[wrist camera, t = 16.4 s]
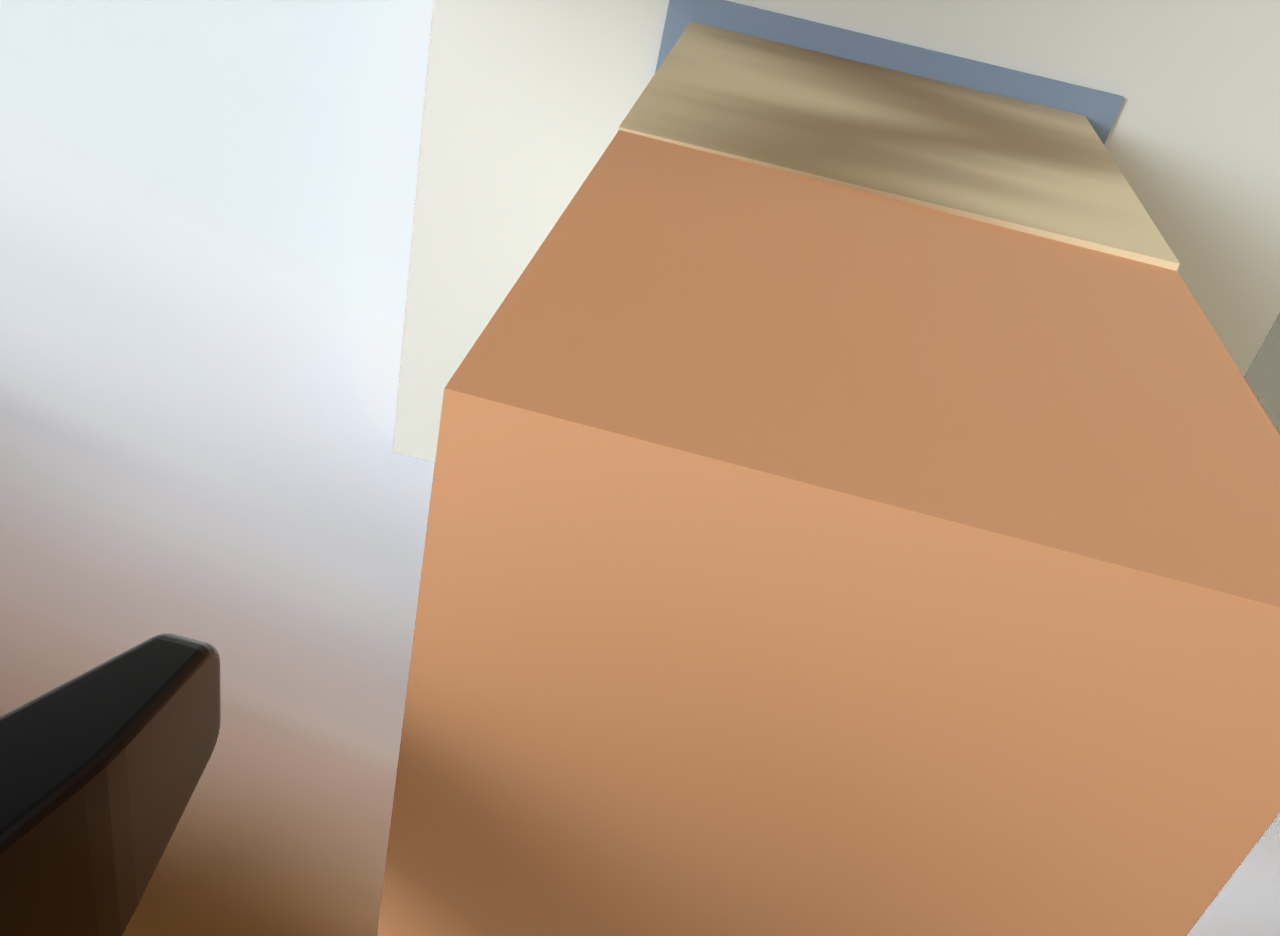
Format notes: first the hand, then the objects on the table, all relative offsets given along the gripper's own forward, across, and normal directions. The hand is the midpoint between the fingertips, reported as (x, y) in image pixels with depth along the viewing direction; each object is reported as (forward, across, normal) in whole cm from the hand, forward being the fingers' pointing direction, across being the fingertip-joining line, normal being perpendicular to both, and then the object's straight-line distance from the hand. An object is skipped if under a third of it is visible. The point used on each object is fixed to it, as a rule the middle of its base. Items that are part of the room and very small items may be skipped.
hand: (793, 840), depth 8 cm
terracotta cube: (+6, 0, 0) cm, 6 cm away
